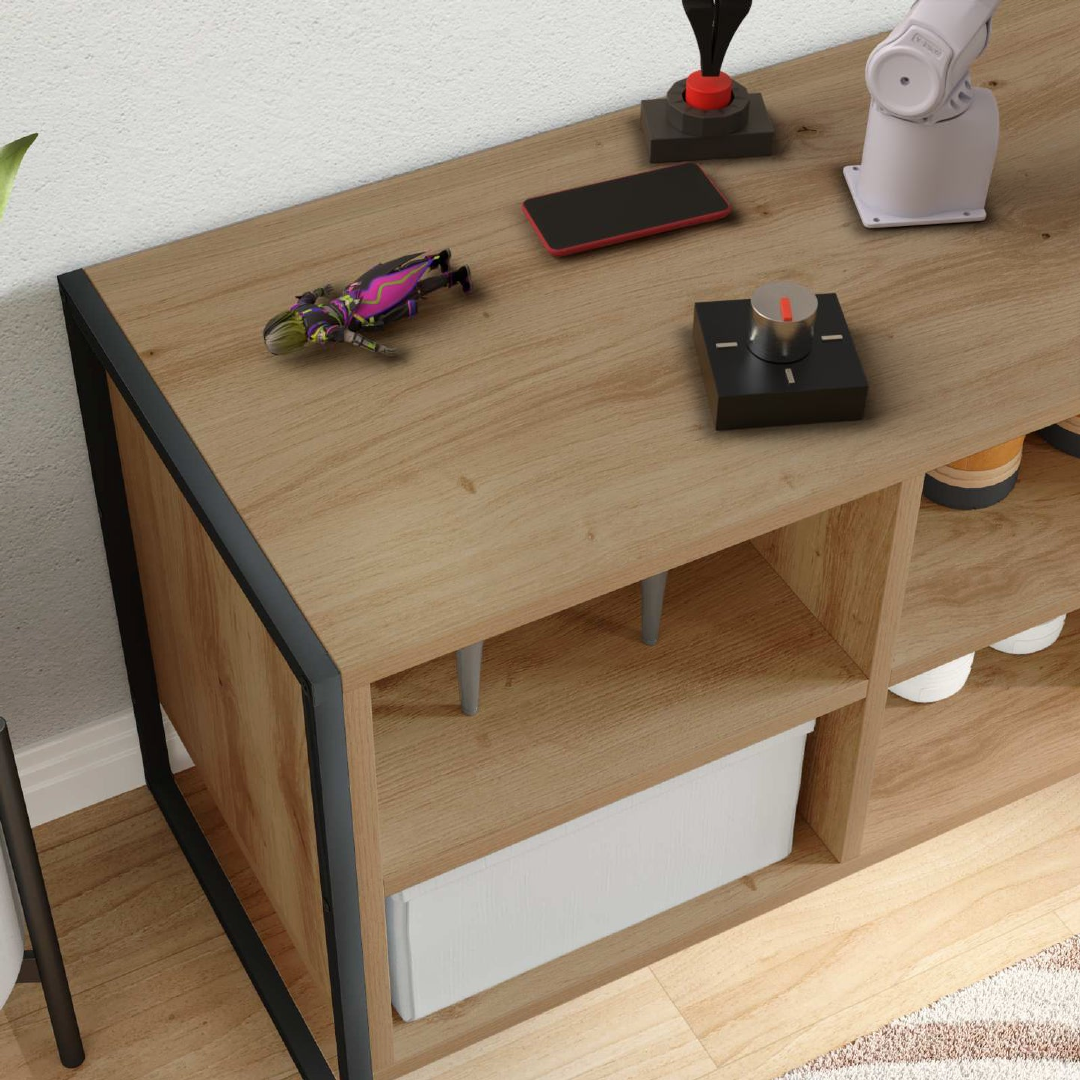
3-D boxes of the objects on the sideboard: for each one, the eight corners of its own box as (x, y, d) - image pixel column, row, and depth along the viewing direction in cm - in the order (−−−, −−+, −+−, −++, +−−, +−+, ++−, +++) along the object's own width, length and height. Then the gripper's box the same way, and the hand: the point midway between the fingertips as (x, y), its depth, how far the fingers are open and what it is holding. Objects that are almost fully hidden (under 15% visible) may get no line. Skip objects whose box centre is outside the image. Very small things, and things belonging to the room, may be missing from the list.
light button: (726, 86, 128) (727, 67, 127) (734, 110, 126) (735, 90, 124) (682, 89, 128) (683, 70, 127) (689, 113, 125) (690, 93, 124)
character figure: (424, 255, 120) (236, 328, 113) (423, 213, 117) (230, 285, 110) (494, 317, 114) (300, 397, 108) (494, 275, 112) (295, 354, 105)
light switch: (758, 114, 132) (762, 70, 129) (772, 157, 127) (777, 113, 124) (639, 121, 131) (641, 78, 128) (650, 165, 127) (652, 121, 124)
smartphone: (518, 200, 122) (695, 159, 125) (518, 209, 123) (695, 169, 126) (551, 253, 117) (734, 209, 121) (551, 263, 118) (733, 219, 121)
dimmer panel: (830, 326, 112) (836, 290, 110) (863, 419, 106) (869, 383, 103) (692, 335, 112) (694, 300, 110) (715, 430, 105) (718, 394, 103)
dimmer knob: (743, 322, 108) (748, 277, 105) (808, 321, 108) (814, 276, 105) (749, 363, 105) (754, 318, 102) (815, 362, 105) (822, 317, 102)
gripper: (623, -72, 112) (619, 97, 122) (827, -74, 112) (807, 96, 122) (621, -116, 117) (617, 51, 127) (816, -118, 117) (797, 49, 127)
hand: (709, 70), depth 125 cm, fingers closed
